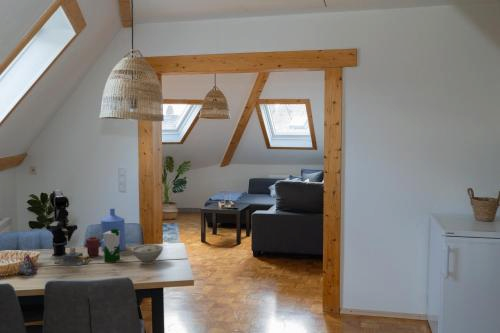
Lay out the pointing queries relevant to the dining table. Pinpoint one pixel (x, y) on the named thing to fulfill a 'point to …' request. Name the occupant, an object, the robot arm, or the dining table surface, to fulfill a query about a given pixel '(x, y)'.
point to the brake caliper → (27, 266)
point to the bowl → (147, 253)
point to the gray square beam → (72, 251)
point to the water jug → (114, 227)
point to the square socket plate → (74, 259)
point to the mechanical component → (93, 246)
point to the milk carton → (111, 245)
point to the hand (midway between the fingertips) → (62, 240)
